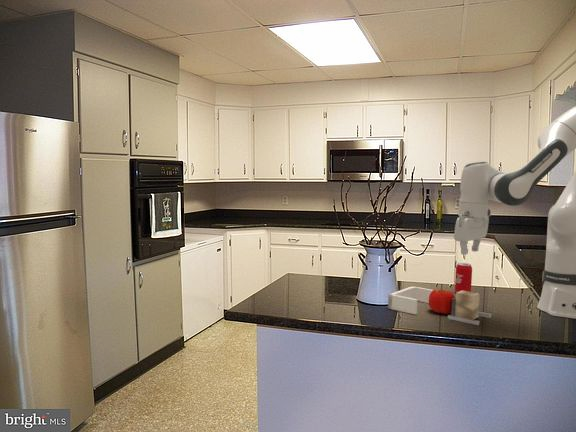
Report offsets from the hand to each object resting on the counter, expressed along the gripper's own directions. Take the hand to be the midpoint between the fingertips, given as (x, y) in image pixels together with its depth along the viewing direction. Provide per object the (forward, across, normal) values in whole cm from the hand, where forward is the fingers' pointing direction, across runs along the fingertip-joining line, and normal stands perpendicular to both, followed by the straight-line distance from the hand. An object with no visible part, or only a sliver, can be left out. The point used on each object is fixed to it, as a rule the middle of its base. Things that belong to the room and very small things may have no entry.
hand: (469, 252), depth 159 cm
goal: (+22, 0, +18) cm, 29 cm away
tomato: (+22, 0, +8) cm, 24 cm away
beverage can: (+22, +33, +14) cm, 42 cm away
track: (+22, 0, -2) cm, 22 cm away
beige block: (+22, 0, -1) cm, 22 cm away
